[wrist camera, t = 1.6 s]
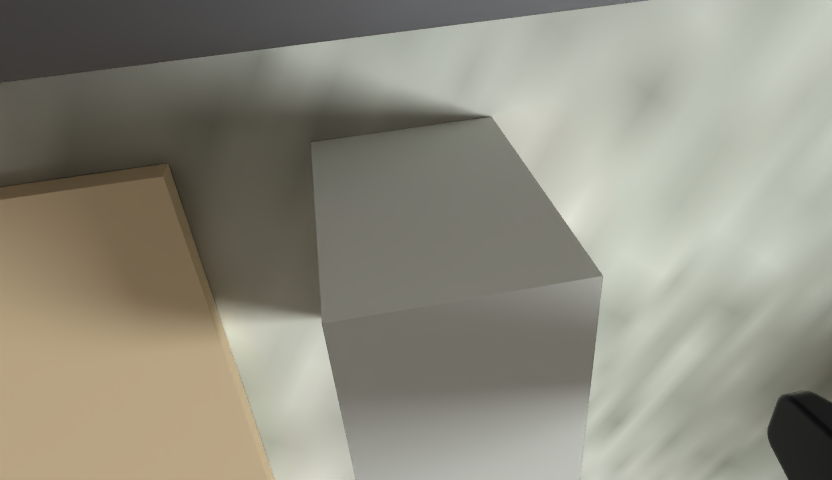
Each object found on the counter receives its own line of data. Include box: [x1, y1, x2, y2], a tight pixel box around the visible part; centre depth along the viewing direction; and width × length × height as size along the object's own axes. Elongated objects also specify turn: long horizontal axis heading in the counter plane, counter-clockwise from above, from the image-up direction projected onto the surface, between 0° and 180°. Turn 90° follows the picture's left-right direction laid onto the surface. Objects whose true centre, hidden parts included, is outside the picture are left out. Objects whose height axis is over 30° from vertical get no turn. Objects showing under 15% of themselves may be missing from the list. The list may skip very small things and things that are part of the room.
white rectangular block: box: [311, 117, 603, 480], centre depth 13 cm, size 4×5×6 cm
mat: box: [0, 164, 274, 480], centre depth 16 cm, size 10×12×1 cm
